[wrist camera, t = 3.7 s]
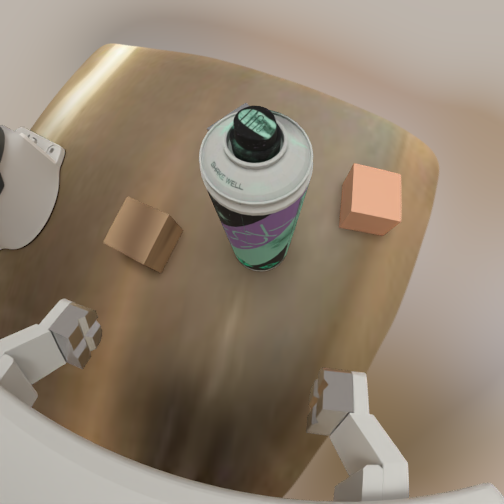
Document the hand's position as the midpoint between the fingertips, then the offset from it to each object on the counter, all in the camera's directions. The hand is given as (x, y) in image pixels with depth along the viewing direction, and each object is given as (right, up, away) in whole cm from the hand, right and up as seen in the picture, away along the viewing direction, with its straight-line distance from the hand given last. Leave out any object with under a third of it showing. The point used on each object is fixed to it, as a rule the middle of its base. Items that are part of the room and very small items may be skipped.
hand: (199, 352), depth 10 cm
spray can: (+3, +4, +21) cm, 22 cm away
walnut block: (-9, +4, +21) cm, 24 cm away
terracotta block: (+14, +8, +21) cm, 26 cm away
